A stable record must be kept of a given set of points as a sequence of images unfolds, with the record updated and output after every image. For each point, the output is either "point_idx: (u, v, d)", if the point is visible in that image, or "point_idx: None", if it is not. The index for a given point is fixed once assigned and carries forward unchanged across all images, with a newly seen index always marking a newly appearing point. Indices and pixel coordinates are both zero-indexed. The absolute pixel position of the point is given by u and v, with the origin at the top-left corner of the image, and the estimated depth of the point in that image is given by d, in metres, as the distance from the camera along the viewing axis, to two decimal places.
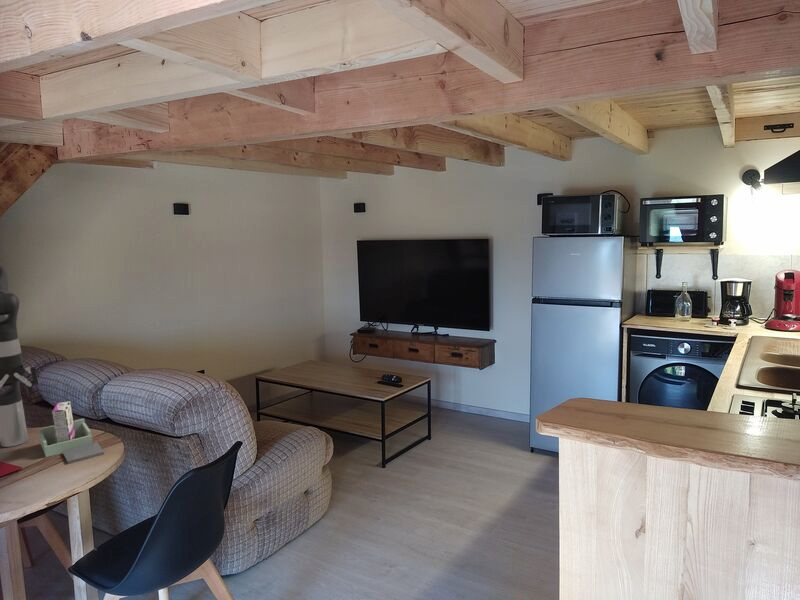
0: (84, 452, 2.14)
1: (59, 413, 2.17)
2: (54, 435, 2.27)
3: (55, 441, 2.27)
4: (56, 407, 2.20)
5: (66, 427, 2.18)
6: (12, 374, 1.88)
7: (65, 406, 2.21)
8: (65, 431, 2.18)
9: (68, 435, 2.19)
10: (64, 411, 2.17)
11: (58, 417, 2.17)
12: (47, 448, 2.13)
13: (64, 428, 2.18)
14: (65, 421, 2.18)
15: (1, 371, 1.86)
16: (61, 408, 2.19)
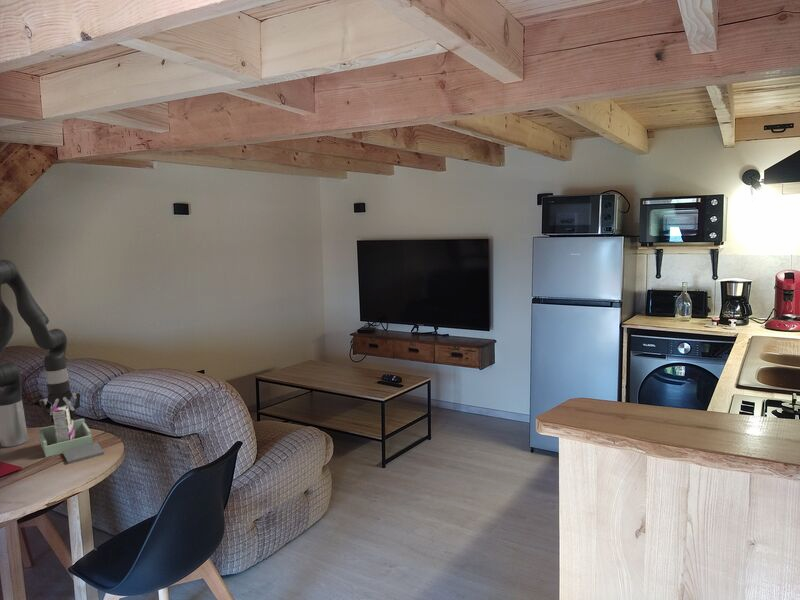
0: (84, 452, 2.14)
1: (59, 413, 2.17)
2: (54, 435, 2.27)
3: (55, 441, 2.27)
4: (56, 407, 2.20)
5: (66, 427, 2.18)
6: (61, 398, 2.20)
7: (65, 406, 2.21)
8: (65, 431, 2.18)
9: (68, 435, 2.19)
10: (64, 411, 2.17)
11: (58, 417, 2.17)
12: (47, 448, 2.13)
13: (64, 428, 2.18)
14: (65, 421, 2.18)
15: (52, 396, 2.18)
16: (61, 408, 2.19)
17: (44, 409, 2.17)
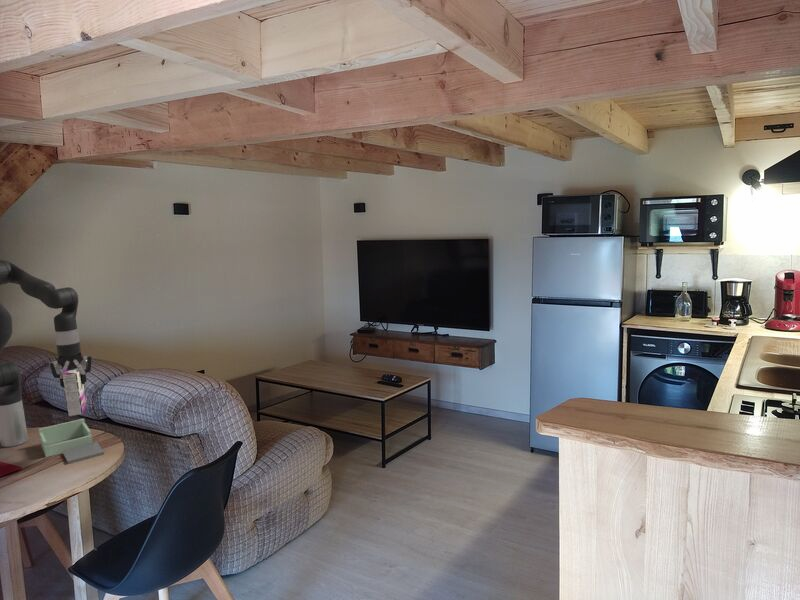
0: (84, 452, 2.14)
1: (70, 376, 2.05)
2: (54, 435, 2.27)
3: (55, 441, 2.27)
4: (66, 370, 2.08)
5: (77, 391, 2.06)
6: (72, 361, 2.08)
7: (76, 369, 2.09)
8: (76, 395, 2.06)
9: (79, 399, 2.07)
10: (75, 374, 2.05)
11: (69, 380, 2.05)
12: (47, 448, 2.13)
13: (74, 392, 2.06)
14: (76, 384, 2.06)
15: (62, 358, 2.06)
16: (72, 371, 2.07)
17: (54, 372, 2.05)
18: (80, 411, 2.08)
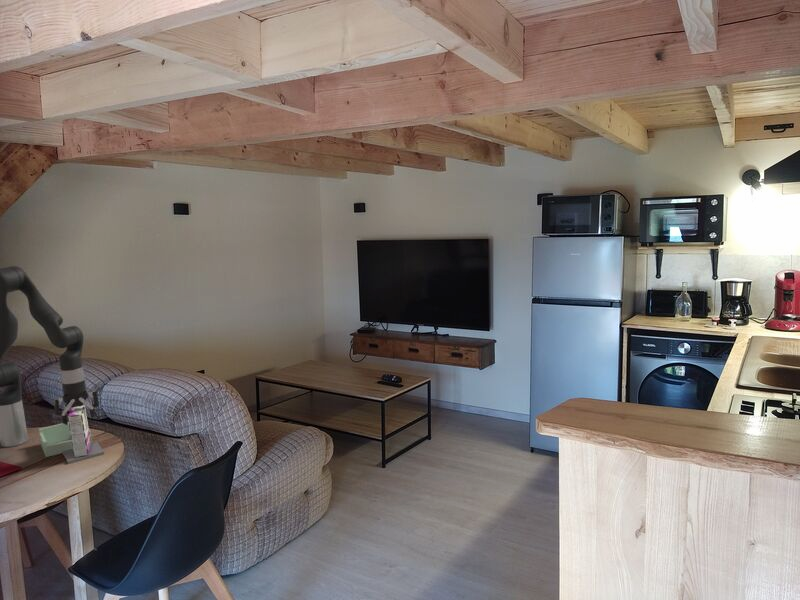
0: None
1: (75, 418, 2.07)
2: (54, 435, 2.27)
3: (55, 441, 2.27)
4: (71, 412, 2.11)
5: (83, 432, 2.09)
6: (77, 398, 2.11)
7: (81, 410, 2.12)
8: (82, 436, 2.09)
9: (85, 441, 2.10)
10: (80, 416, 2.08)
11: (74, 422, 2.07)
12: (47, 448, 2.13)
13: (80, 434, 2.09)
14: (81, 426, 2.08)
15: (68, 396, 2.09)
16: (77, 413, 2.09)
17: (57, 409, 2.07)
18: (86, 452, 2.10)
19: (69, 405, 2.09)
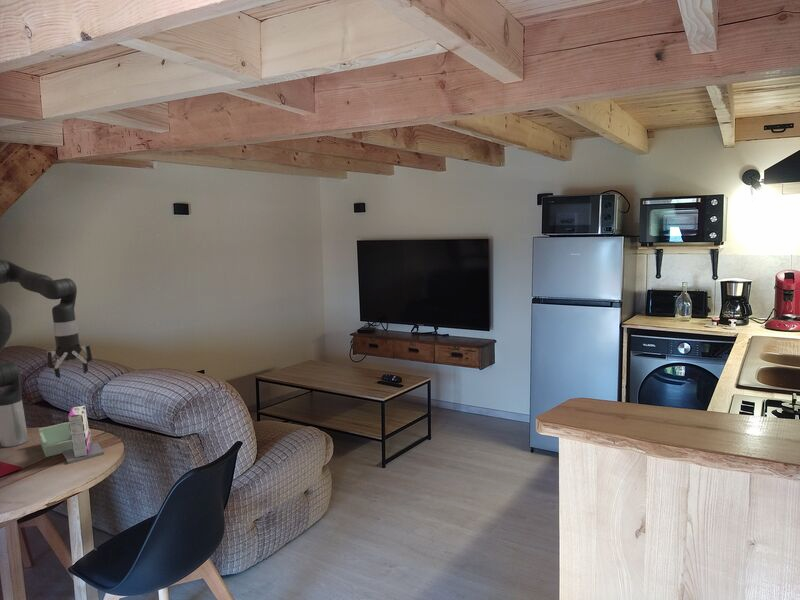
0: None
1: (76, 418, 2.07)
2: (54, 435, 2.27)
3: (55, 441, 2.27)
4: (71, 412, 2.11)
5: (83, 432, 2.09)
6: (70, 352, 2.08)
7: (81, 410, 2.12)
8: (82, 436, 2.09)
9: (85, 441, 2.10)
10: (81, 416, 2.08)
11: (74, 422, 2.07)
12: (47, 448, 2.13)
13: (80, 434, 2.09)
14: (82, 426, 2.09)
15: (61, 349, 2.06)
16: (77, 413, 2.09)
17: (49, 361, 2.04)
18: (86, 452, 2.10)
19: (62, 358, 2.06)
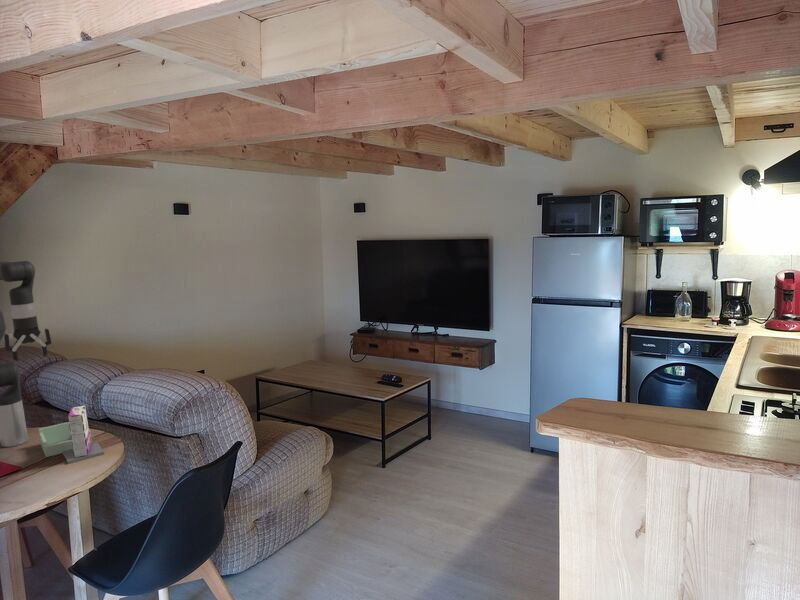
0: None
1: (76, 418, 2.07)
2: (54, 435, 2.27)
3: (55, 441, 2.27)
4: (71, 412, 2.11)
5: (83, 432, 2.09)
6: (28, 335, 2.07)
7: (81, 410, 2.12)
8: (82, 436, 2.09)
9: (85, 441, 2.10)
10: (81, 416, 2.08)
11: (74, 422, 2.07)
12: (47, 448, 2.13)
13: (80, 434, 2.09)
14: (82, 426, 2.09)
15: (18, 332, 2.05)
16: (77, 413, 2.09)
17: (7, 344, 2.03)
18: (86, 452, 2.10)
19: (20, 341, 2.05)
